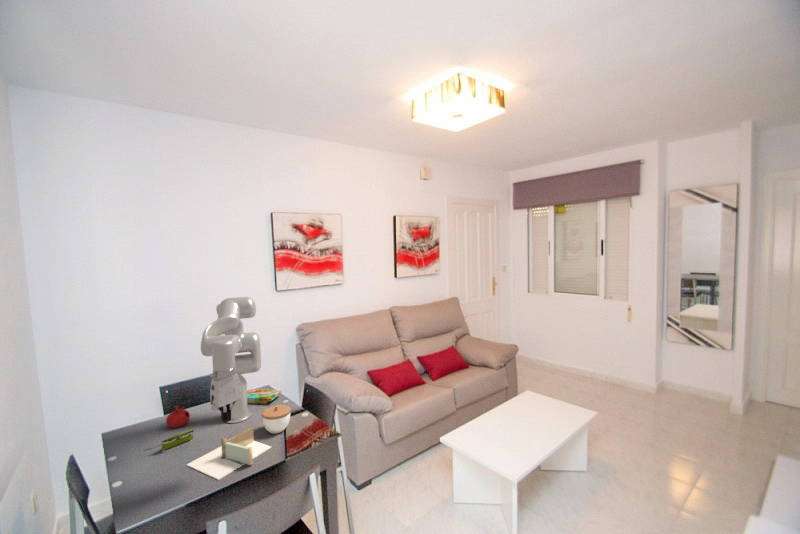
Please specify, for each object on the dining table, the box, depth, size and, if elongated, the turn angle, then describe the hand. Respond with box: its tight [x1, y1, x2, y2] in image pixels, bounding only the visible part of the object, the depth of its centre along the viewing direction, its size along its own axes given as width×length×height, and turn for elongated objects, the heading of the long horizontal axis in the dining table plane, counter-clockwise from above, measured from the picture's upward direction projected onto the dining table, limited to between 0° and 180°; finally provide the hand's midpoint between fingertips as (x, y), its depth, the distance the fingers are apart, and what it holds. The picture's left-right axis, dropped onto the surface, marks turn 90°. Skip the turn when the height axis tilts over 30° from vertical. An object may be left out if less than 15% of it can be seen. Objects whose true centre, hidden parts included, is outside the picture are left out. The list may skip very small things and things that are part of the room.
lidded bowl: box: [261, 404, 291, 435], centre depth 164 cm, size 13×13×11 cm
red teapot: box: [165, 405, 191, 429], centre depth 171 cm, size 10×10×9 cm
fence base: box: [220, 427, 255, 458], centre depth 147 cm, size 2×14×8 cm, turn 152°
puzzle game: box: [247, 388, 283, 405], centre depth 198 cm, size 12×5×20 cm
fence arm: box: [225, 442, 254, 466], centre depth 138 cm, size 2×13×6 cm, turn 67°
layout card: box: [186, 440, 272, 481], centre depth 143 cm, size 20×24×1 cm
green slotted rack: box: [144, 428, 194, 453], centre depth 150 cm, size 7×19×10 cm
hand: (226, 420), depth 132 cm, fingers closed
